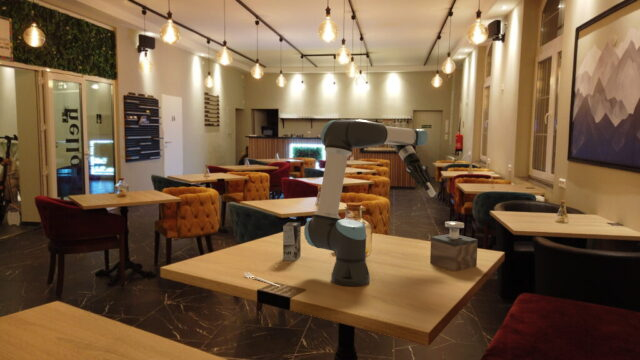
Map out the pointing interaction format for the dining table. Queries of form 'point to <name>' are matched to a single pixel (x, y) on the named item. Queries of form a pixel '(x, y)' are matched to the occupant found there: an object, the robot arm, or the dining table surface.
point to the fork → (259, 279)
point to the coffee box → (291, 241)
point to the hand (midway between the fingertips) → (433, 195)
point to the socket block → (453, 252)
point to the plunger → (454, 229)
